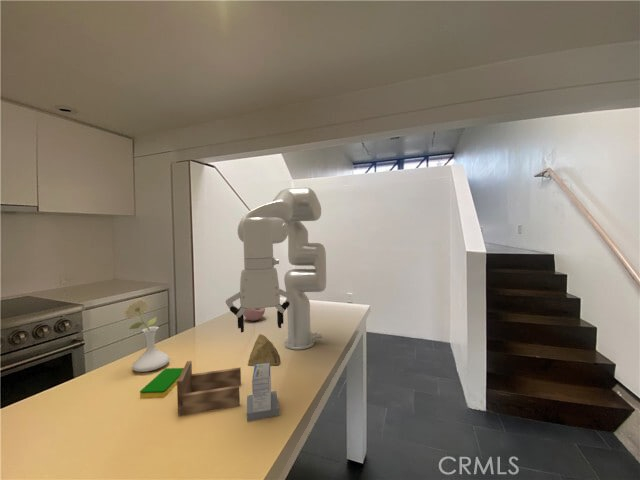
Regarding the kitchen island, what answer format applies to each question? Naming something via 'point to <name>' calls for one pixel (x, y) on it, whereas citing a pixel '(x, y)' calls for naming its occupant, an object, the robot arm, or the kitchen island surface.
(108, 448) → the kitchen island surface
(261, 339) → the rock
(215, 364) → the kitchen island surface
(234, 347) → the kitchen island surface
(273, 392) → the plinth
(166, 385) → the dish sponge
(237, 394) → the rack
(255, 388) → the medicine box
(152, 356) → the flower in vase
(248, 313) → the red apple
